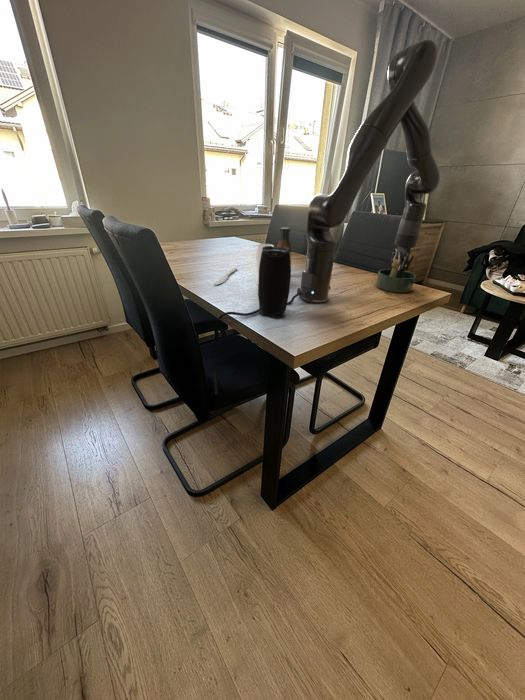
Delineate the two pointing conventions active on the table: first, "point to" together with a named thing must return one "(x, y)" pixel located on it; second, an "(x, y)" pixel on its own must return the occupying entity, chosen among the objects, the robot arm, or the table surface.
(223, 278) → the butter knife
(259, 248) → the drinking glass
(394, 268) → the cork
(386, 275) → the teal shallow bowl
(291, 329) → the table surface
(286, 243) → the sauce bottle
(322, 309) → the table surface
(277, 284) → the portable speaker
